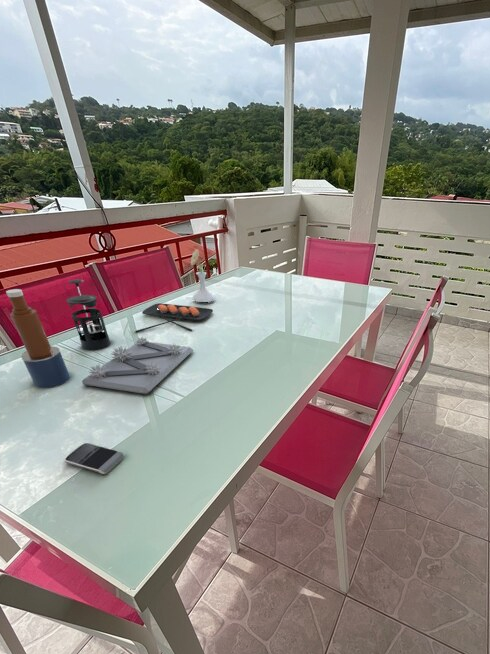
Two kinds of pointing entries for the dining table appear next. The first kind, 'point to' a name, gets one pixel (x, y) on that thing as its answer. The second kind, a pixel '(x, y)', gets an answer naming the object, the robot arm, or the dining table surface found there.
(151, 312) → the sushi plate
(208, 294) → the flower in vase
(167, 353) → the decorative plate
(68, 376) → the tin can
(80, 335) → the french press
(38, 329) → the bottle
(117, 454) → the cell phone
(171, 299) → the dining table surface
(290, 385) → the dining table surface
